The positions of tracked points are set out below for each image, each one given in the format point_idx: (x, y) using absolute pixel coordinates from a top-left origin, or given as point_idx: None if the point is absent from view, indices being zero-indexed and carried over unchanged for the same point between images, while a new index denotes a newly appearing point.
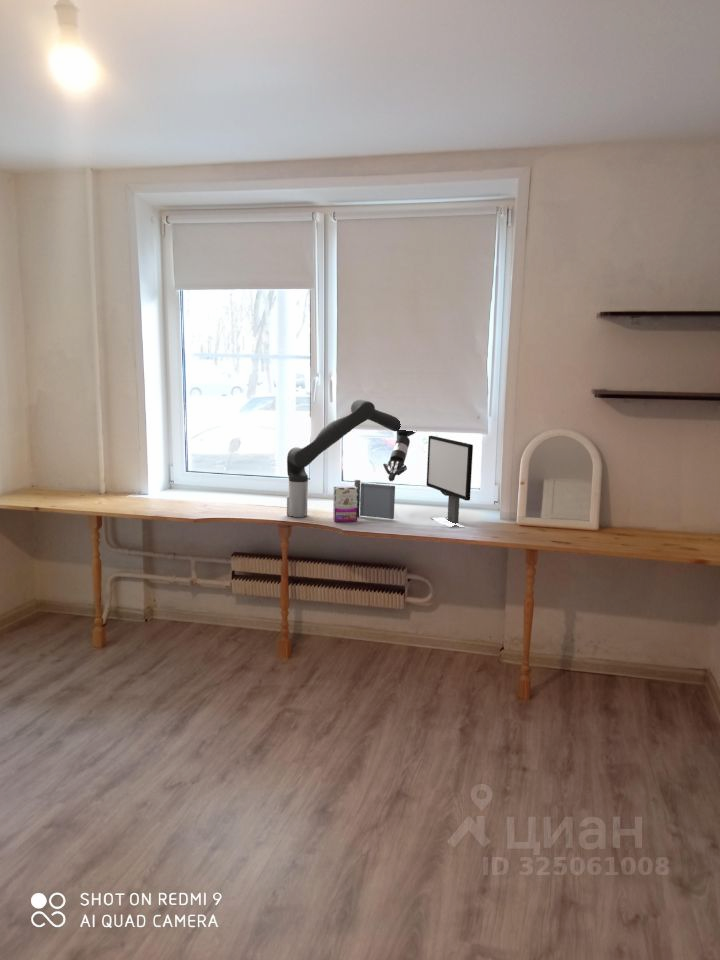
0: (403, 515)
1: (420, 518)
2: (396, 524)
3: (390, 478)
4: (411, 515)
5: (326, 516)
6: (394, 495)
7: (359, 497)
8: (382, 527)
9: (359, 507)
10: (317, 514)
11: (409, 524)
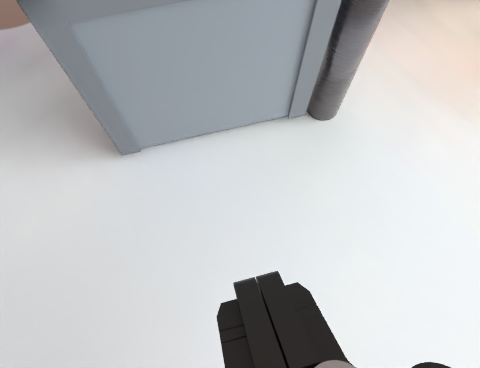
0: (137, 310)
1: (8, 307)
2: (73, 95)
3: (257, 279)
4: (93, 350)
5: (415, 29)
6: (61, 62)
7: (332, 32)
8: None
9: (319, 82)
10: (473, 34)
11: (16, 133)
